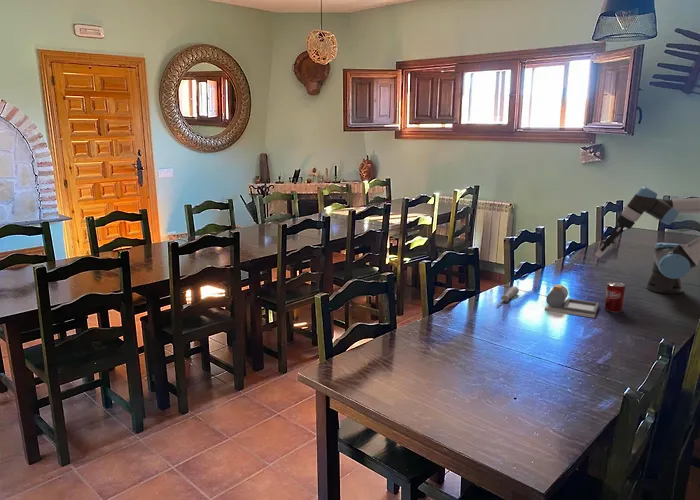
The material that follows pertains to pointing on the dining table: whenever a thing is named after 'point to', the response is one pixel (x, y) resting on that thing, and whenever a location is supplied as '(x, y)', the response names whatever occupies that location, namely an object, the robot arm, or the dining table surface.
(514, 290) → the screwdriver
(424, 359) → the dining table surface
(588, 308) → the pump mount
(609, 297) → the soda can
